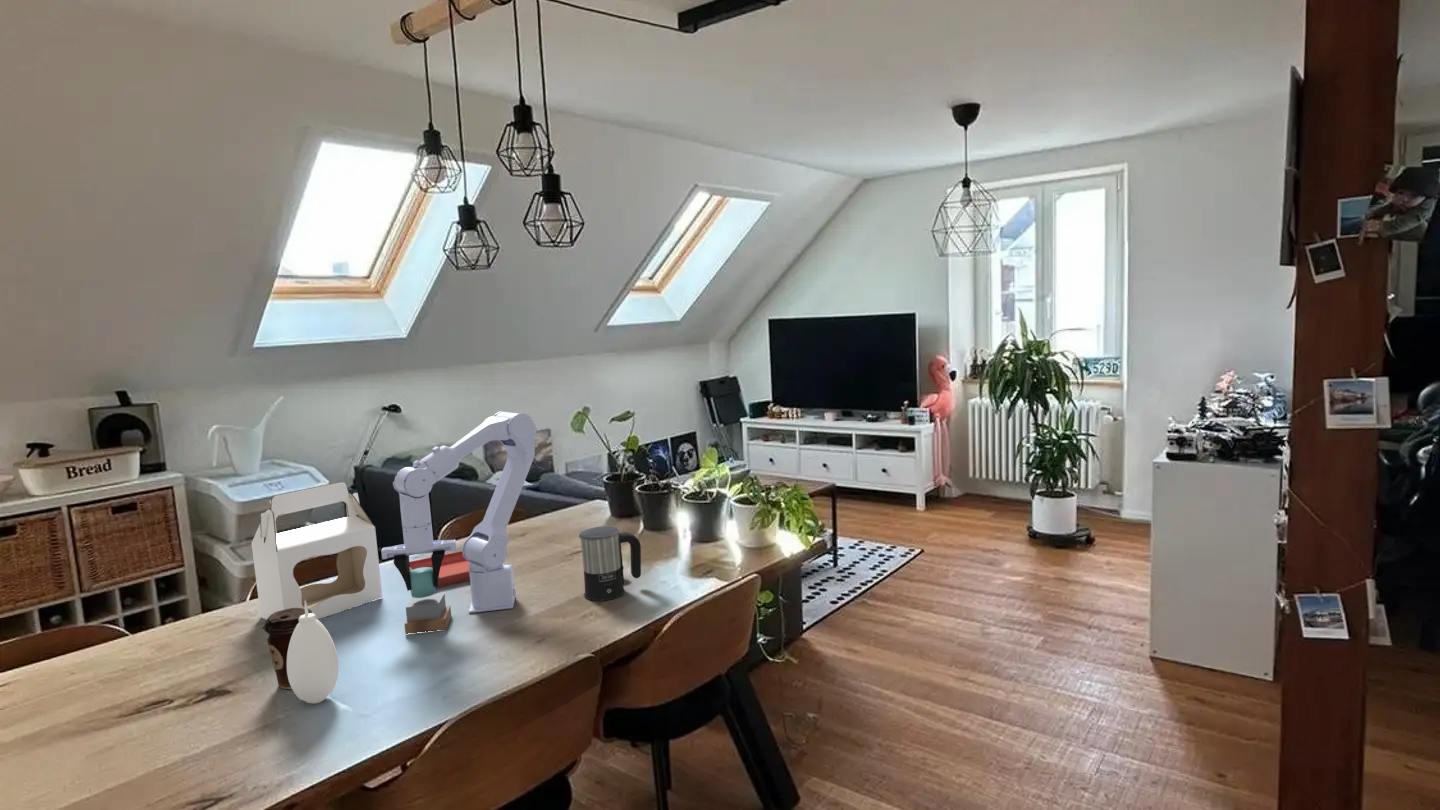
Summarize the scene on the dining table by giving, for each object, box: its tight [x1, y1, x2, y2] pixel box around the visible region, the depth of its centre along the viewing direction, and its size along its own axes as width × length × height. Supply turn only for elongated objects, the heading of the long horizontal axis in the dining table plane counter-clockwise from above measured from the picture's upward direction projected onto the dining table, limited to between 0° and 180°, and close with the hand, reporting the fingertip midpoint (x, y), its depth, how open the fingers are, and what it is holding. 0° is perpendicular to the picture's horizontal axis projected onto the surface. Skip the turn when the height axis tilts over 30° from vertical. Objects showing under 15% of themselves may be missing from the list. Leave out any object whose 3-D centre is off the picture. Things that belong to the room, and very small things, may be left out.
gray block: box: [405, 593, 447, 621], centre depth 168 cm, size 6×6×3 cm
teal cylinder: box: [409, 567, 437, 598], centre depth 167 cm, size 5×5×5 cm
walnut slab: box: [404, 604, 452, 635], centre depth 168 cm, size 8×8×3 cm
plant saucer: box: [409, 550, 470, 587], centre depth 201 cm, size 18×18×3 cm
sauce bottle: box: [287, 601, 339, 705], centre depth 136 cm, size 8×8×18 cm
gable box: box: [251, 481, 383, 621], centre depth 181 cm, size 22×13×28 cm, turn 141°
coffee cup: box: [262, 608, 317, 690], centre depth 144 cm, size 9×8×13 cm
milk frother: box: [578, 525, 642, 602], centre depth 185 cm, size 14×16×15 cm
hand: (423, 587), depth 167 cm, fingers closed on teal cylinder, 5 cm apart
